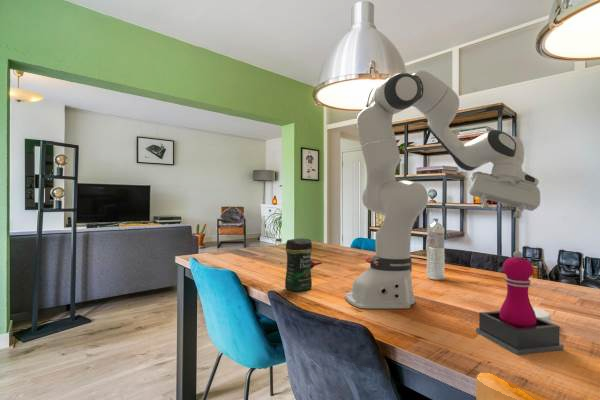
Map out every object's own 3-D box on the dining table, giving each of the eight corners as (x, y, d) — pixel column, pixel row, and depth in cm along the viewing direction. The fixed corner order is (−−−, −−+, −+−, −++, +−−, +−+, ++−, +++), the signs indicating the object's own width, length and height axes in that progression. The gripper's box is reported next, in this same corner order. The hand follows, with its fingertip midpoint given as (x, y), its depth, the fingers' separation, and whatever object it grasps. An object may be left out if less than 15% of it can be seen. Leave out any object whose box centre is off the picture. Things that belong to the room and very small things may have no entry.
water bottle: (446, 280, 130) (446, 219, 130) (428, 280, 131) (429, 219, 131) (441, 276, 136) (442, 218, 136) (425, 276, 138) (425, 218, 137)
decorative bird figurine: (294, 270, 148) (294, 248, 148) (324, 276, 136) (324, 253, 136) (289, 271, 146) (289, 249, 146) (320, 278, 134) (320, 254, 134)
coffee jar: (294, 293, 112) (294, 240, 112) (281, 288, 118) (281, 238, 118) (315, 289, 118) (315, 238, 118) (302, 284, 124) (302, 236, 124)
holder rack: (517, 354, 68) (517, 331, 68) (476, 331, 80) (476, 311, 80) (563, 349, 71) (563, 327, 71) (516, 328, 82) (516, 308, 82)
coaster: (497, 319, 89) (497, 307, 89) (519, 314, 93) (519, 302, 93) (536, 334, 79) (536, 319, 79) (559, 327, 84) (559, 313, 84)
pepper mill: (527, 345, 70) (527, 254, 70) (493, 333, 77) (493, 250, 76) (542, 338, 74) (542, 252, 74) (508, 327, 80) (509, 247, 80)
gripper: (476, 165, 108) (469, 198, 103) (544, 181, 103) (541, 217, 97) (469, 175, 114) (463, 207, 108) (534, 191, 108) (530, 226, 102)
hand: (500, 212), depth 102 cm, fingers open, 8 cm apart
